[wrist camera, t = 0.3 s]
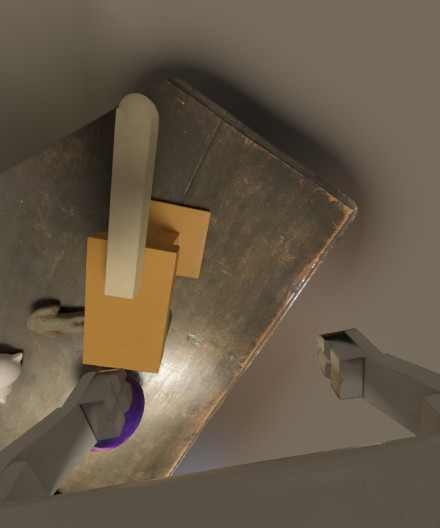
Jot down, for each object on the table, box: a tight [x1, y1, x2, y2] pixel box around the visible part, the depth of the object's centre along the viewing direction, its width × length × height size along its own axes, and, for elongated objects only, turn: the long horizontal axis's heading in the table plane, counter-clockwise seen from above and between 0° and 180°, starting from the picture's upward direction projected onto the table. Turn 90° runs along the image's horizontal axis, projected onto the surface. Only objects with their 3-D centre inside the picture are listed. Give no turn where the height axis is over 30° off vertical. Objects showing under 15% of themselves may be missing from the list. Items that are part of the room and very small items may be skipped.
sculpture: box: [27, 305, 85, 337], centre depth 51 cm, size 7×5×15 cm
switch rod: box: [104, 93, 159, 299], centre depth 19 cm, size 15×3×3 cm, turn 168°
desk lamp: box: [83, 200, 211, 373], centre depth 36 cm, size 18×14×27 cm
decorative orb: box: [90, 373, 145, 452], centre depth 52 cm, size 15×15×15 cm
